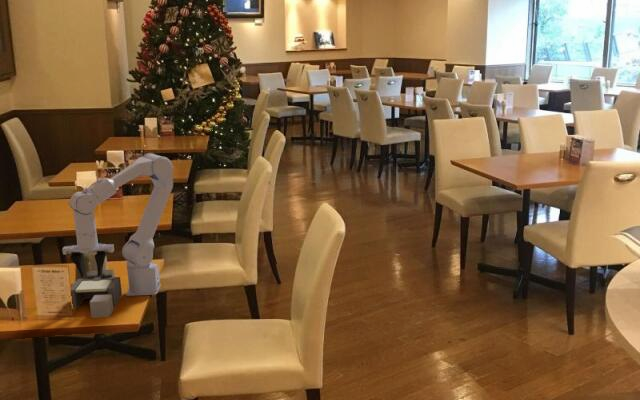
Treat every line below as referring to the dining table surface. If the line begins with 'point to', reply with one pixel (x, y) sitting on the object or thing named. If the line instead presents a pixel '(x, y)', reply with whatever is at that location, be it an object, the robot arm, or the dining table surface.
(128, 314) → the dining table surface
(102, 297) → the grey cube
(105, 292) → the trapdoor frame
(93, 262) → the candle
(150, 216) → the robot arm
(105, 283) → the trapdoor flap
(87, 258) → the olive green cylinder
